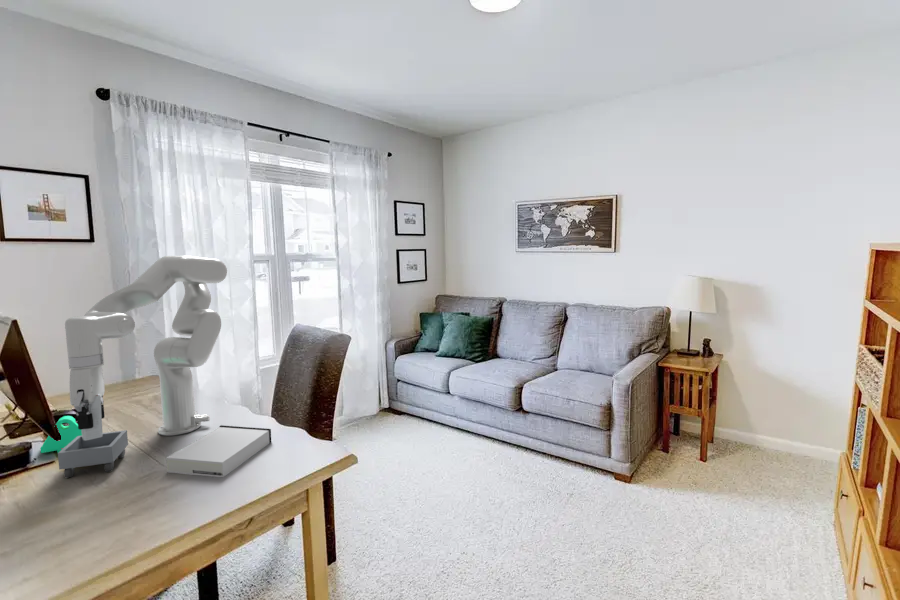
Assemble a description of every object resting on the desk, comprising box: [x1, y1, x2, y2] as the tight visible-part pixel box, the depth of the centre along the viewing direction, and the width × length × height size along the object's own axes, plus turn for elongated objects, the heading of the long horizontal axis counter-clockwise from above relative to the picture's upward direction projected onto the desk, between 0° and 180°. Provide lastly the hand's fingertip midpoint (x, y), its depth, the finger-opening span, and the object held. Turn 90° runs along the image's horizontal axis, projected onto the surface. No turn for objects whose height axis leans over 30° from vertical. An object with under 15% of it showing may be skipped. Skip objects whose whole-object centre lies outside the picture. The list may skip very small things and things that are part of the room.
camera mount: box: [40, 415, 82, 454], centre depth 140 cm, size 12×8×10 cm, turn 123°
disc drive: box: [165, 424, 272, 478], centre depth 132 cm, size 18×22×5 cm
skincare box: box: [81, 394, 104, 441], centre depth 125 cm, size 6×4×12 cm
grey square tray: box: [57, 429, 129, 479], centre depth 126 cm, size 12×12×8 cm
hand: (91, 423), depth 125 cm, fingers closed on skincare box, 7 cm apart
